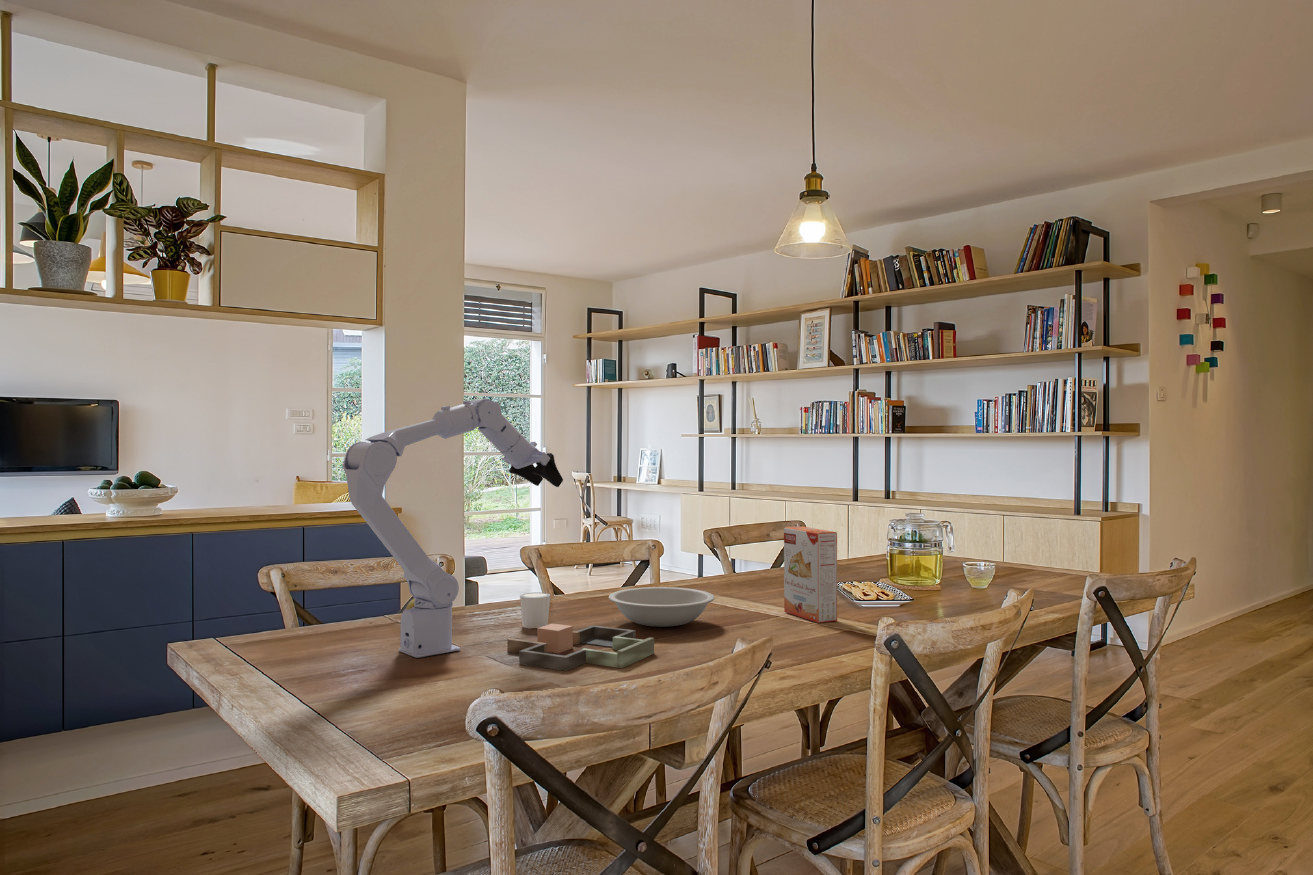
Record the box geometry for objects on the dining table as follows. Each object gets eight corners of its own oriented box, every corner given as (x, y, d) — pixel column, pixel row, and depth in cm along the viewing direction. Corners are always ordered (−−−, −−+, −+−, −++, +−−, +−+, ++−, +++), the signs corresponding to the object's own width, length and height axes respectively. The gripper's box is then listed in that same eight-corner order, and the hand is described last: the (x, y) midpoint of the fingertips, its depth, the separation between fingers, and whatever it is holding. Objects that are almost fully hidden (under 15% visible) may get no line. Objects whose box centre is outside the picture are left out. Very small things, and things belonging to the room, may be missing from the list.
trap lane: (486, 658, 160) (486, 642, 160) (562, 632, 182) (562, 618, 182) (603, 676, 148) (603, 659, 148) (669, 646, 170) (669, 631, 170)
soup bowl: (717, 637, 178) (717, 606, 179) (604, 636, 179) (604, 605, 179) (712, 614, 202) (712, 587, 203) (612, 614, 203) (612, 586, 203)
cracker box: (782, 612, 205) (782, 526, 205) (803, 610, 207) (803, 525, 207) (816, 623, 192) (816, 531, 192) (838, 621, 195) (838, 530, 195)
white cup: (553, 622, 192) (553, 592, 192) (546, 629, 186) (546, 597, 186) (524, 622, 193) (524, 591, 193) (516, 628, 186) (516, 596, 186)
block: (537, 650, 167) (537, 628, 167) (551, 645, 171) (552, 623, 171) (558, 653, 164) (558, 630, 164) (572, 648, 169) (572, 625, 169)
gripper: (539, 427, 175) (579, 469, 181) (502, 428, 185) (541, 468, 192) (520, 453, 171) (561, 495, 178) (483, 452, 182) (523, 492, 189)
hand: (549, 482), depth 185 cm, fingers open, 7 cm apart
